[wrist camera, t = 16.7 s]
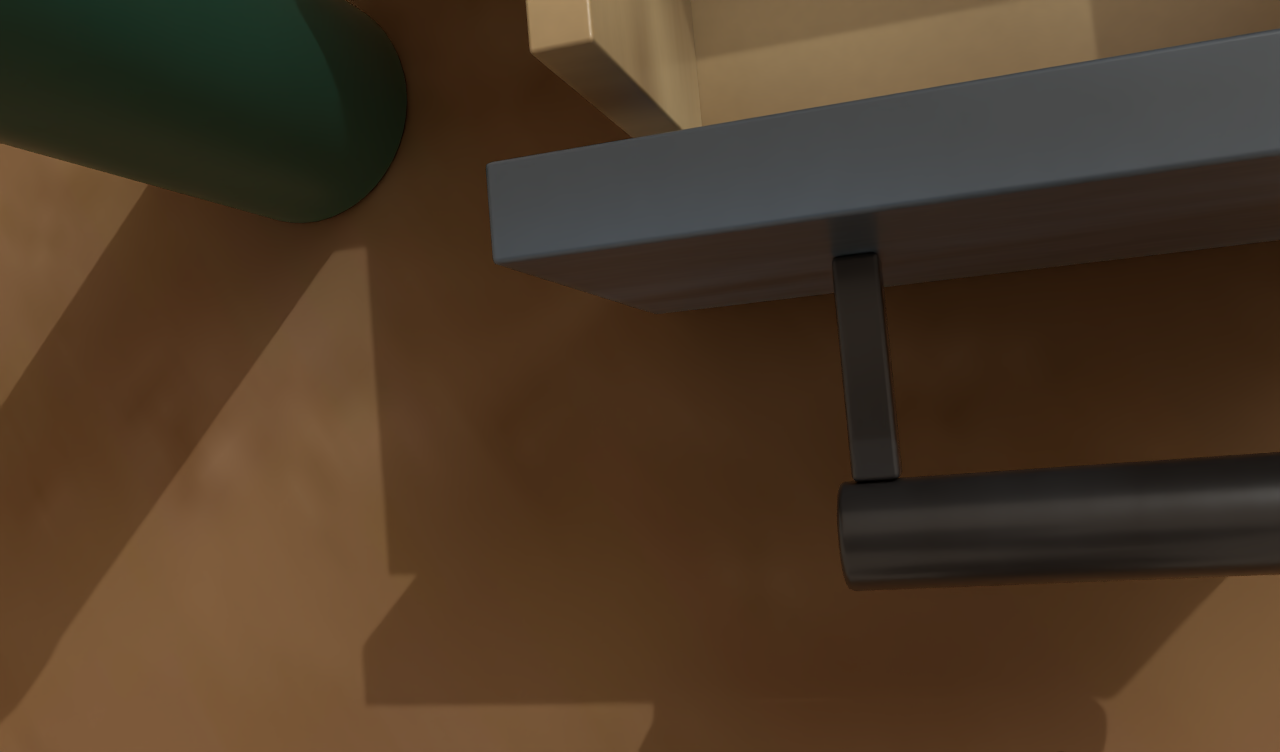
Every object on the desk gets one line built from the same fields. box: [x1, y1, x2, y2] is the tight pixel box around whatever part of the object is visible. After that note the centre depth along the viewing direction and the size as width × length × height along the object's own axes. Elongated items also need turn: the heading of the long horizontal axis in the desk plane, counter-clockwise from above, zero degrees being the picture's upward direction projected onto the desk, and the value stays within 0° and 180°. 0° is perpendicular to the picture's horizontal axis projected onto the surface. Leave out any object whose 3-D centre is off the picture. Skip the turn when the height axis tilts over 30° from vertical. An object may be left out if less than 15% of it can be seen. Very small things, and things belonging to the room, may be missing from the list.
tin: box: [0, 0, 407, 223], centre depth 16 cm, size 5×5×11 cm
